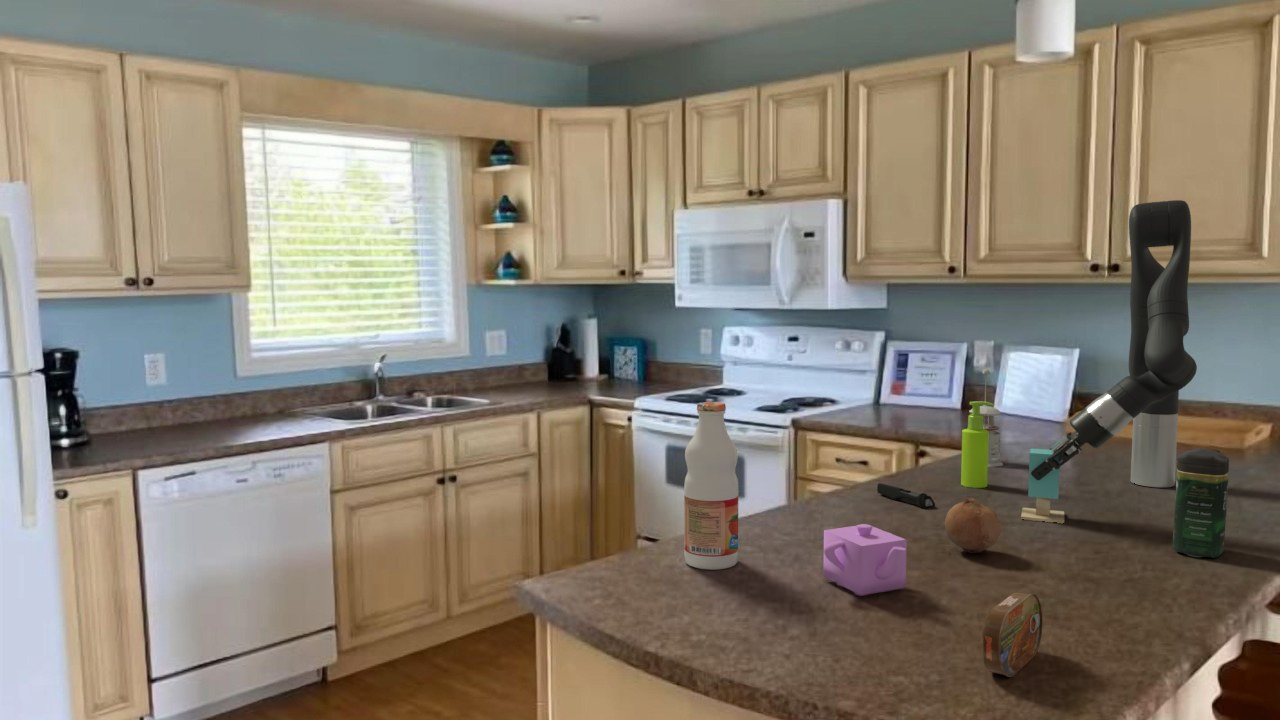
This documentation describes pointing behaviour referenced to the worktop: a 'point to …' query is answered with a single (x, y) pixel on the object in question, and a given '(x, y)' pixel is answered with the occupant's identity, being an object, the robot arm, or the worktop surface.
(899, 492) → the electric trimmer
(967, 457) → the soap dispenser
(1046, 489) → the teal tower prism
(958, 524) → the onion
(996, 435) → the french press
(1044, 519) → the post
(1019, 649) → the tin
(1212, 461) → the coffee jar
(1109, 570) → the worktop surface
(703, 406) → the fruit juice
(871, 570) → the teapot
